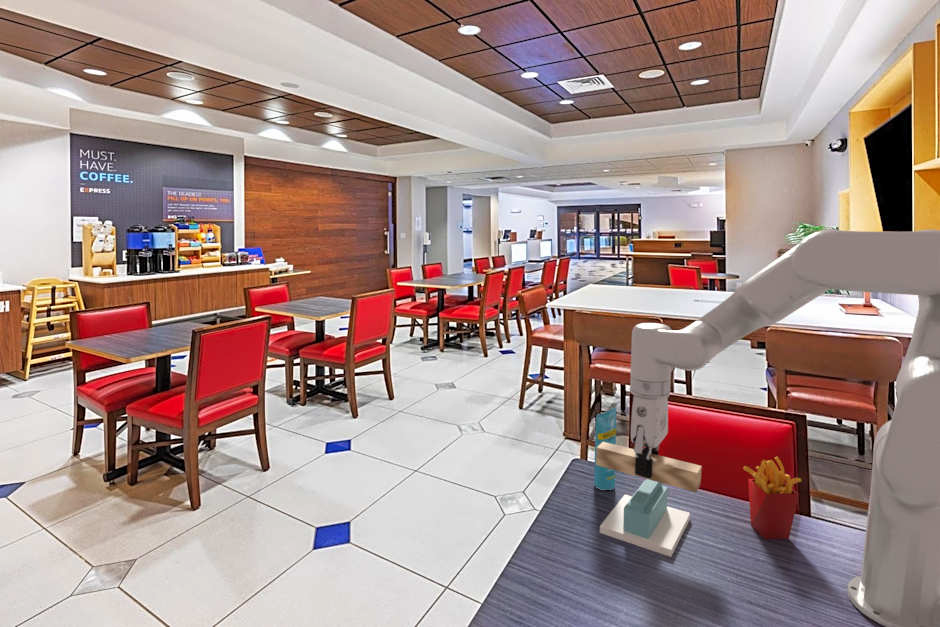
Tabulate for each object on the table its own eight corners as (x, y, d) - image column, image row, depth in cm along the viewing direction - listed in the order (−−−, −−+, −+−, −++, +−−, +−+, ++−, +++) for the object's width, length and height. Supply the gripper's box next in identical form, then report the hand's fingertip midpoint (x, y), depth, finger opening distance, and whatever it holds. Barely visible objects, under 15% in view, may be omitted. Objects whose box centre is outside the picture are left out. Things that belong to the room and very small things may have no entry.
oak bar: (700, 484, 99) (701, 465, 98) (696, 492, 96) (697, 473, 95) (602, 458, 111) (602, 441, 110) (596, 464, 108) (596, 447, 107)
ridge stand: (689, 519, 107) (691, 482, 106) (671, 557, 95) (672, 515, 94) (624, 500, 115) (625, 465, 114) (599, 532, 103) (600, 494, 102)
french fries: (796, 541, 99) (803, 469, 96) (754, 542, 99) (759, 470, 96) (770, 516, 107) (775, 449, 105) (731, 517, 107) (735, 450, 105)
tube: (605, 496, 117) (606, 417, 114) (587, 488, 121) (588, 412, 118) (621, 484, 122) (623, 408, 119) (603, 477, 126) (605, 404, 123)
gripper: (657, 401, 91) (653, 494, 94) (680, 378, 105) (676, 461, 108) (616, 393, 96) (614, 483, 99) (643, 372, 109) (640, 452, 112)
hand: (646, 470), depth 103 cm, fingers closed on oak bar, 3 cm apart
